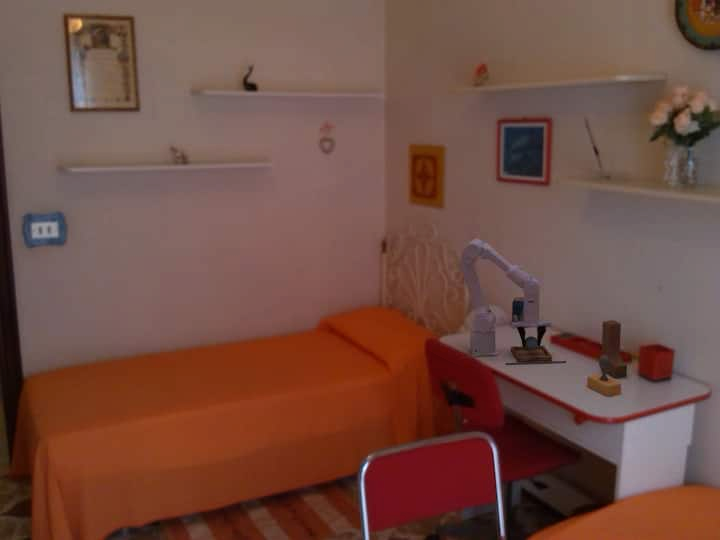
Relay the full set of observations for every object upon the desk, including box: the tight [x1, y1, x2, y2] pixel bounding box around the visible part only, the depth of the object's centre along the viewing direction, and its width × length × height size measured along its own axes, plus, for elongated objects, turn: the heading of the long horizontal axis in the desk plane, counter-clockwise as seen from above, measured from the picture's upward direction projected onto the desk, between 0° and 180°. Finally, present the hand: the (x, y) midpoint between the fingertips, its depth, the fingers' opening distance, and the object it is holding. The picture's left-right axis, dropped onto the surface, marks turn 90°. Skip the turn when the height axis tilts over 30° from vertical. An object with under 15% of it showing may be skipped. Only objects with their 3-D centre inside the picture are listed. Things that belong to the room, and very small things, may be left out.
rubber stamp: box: [586, 355, 622, 397], centre depth 230 cm, size 10×6×12 cm, turn 22°
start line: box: [505, 360, 567, 366], centre depth 258 cm, size 22×1×1 cm, turn 89°
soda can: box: [511, 296, 524, 322], centre depth 301 cm, size 7×7×12 cm
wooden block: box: [601, 319, 628, 379], centre depth 243 cm, size 9×4×18 cm, turn 13°
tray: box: [510, 345, 553, 363], centre depth 265 cm, size 13×13×2 cm
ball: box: [525, 335, 538, 350], centre depth 264 cm, size 5×5×5 cm
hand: (531, 345), depth 265 cm, fingers closed on ball, 5 cm apart
